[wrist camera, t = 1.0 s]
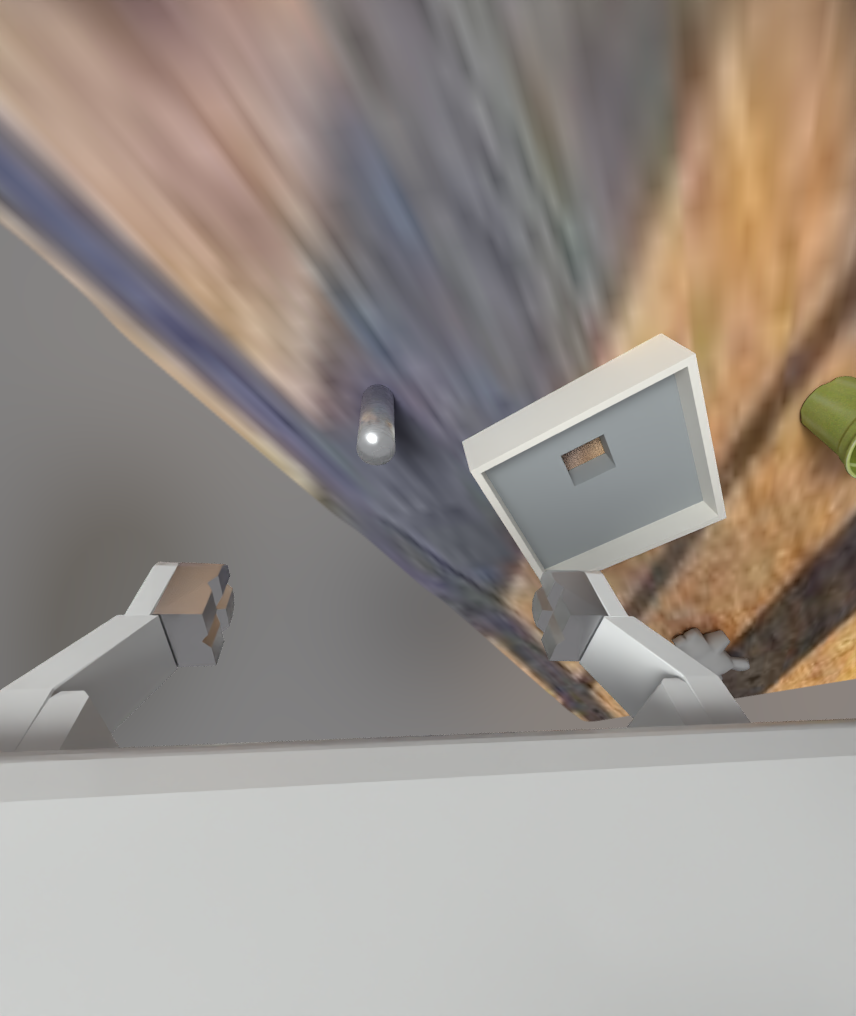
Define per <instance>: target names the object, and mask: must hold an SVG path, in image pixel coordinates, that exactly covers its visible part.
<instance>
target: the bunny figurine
mask: <svg viewBox="0 0 856 1016" xmlns="http://www.w3.org/2000/svg"><path fill="white" fill-rule="evenodd" d="M672 641H673V642H674V644H675V646H676V647H677V648H679V649H680V650H682V651H683V652H685V653H686V654H687V655H689V656H690V657H692V658H693V659H694V660H696V661H697V662H699V663H700V664H702V665H703V666H704V667H706V668H707V669H709V670H710V671H711V672H713V673H714V674H716V675H717V676H718V677H719V678H720V680H721V681H722V676H721V674H724V673H725V672H727V671H729V670H730V669H734V670H737V671H745V670H747V669H749V667H750V666H749V661H748V659H747V658H741V657H730V655H729V654H728V653H727V652H726V651H725V650H724V649H725V648H726V647H727V645H728V644H729V643H730V641H729V639H728V638H727V636H726V635H725V633H724V632H723V631H721V630H719V631H715V632H712V633H708V634H704V635H702V634H701V632H700V631H699V629H698V628H694V629H693V628H692V629H690V630H689V631H687V632H685V633H684V635H680V636H678V637H676V638H674V639H673V640H672Z"/></svg>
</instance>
